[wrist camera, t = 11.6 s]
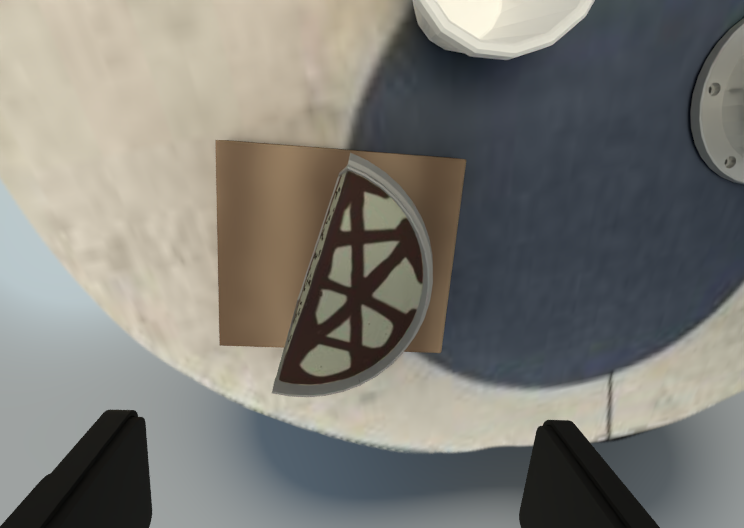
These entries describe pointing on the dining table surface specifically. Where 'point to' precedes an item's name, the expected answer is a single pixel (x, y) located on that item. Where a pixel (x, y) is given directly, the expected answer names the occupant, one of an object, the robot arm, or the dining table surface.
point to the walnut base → (312, 231)
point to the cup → (498, 24)
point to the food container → (358, 287)
